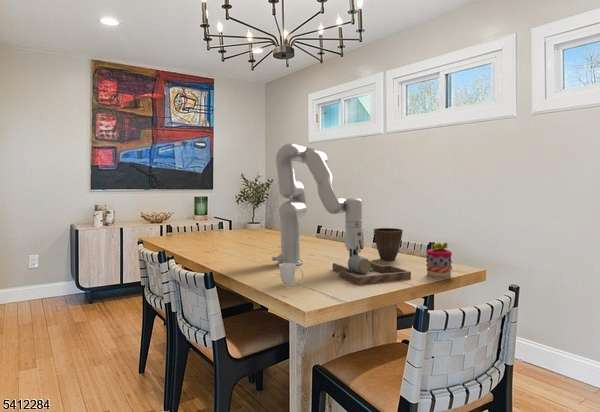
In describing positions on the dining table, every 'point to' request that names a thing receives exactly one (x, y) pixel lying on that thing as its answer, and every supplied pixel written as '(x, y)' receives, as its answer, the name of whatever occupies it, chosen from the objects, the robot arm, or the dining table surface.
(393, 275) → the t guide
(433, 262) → the cake
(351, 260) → the ceramic mug
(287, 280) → the cup
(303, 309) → the dining table surface
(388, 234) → the plant pot
